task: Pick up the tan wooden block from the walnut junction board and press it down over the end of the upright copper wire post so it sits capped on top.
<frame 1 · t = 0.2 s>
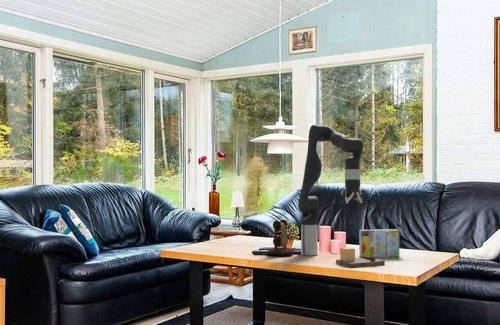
hand: (352, 211, 275), 28 cm above the table, tool pointing down, fingers open, 8 cm apart
junction board: (360, 264, 281), on the table
brown upright piece: (280, 255, 313), on the table
snack box: (379, 257, 306), on the table
tan wooden block: (347, 260, 282), point 2 cm above the table, touching junction board
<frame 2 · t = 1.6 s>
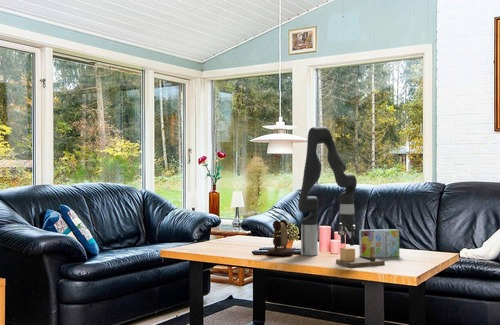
hand: (347, 244, 282), 10 cm above the table, tool pointing down, fingers open, 8 cm apart
nothing on the table moved.
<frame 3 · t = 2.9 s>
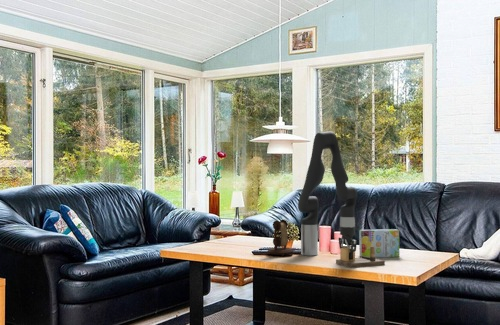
hand: (347, 258, 282), 3 cm above the table, tool pointing down, fingers closed on tan wooden block, 5 cm apart
tan wooden block: (347, 260, 282), point 2 cm above the table, touching gripper, junction board
everything else where it was.
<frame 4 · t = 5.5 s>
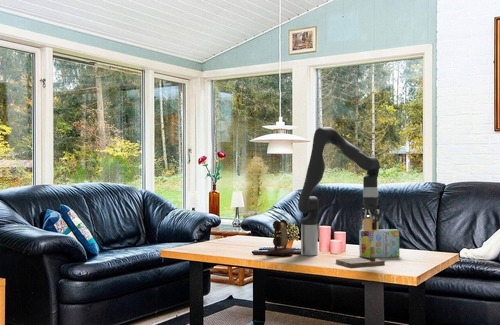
hand: (371, 229, 281), 18 cm above the table, tool pointing down, fingers closed on tan wooden block, 5 cm apart
tan wooden block: (370, 230, 281), point 17 cm above the table, touching gripper
everything else where it was.
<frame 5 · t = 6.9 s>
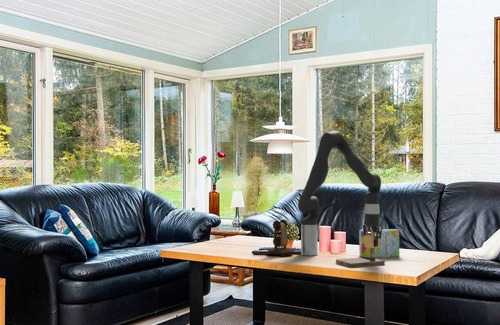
hand: (372, 245, 281), 9 cm above the table, tool pointing down, fingers closed on tan wooden block, 5 cm apart
tan wooden block: (372, 247, 281), point 9 cm above the table, touching gripper
everything else where it was.
when the fingers open (5 cm above the table, at t = 8.2 s): tan wooden block stays where it is, resting on junction board.
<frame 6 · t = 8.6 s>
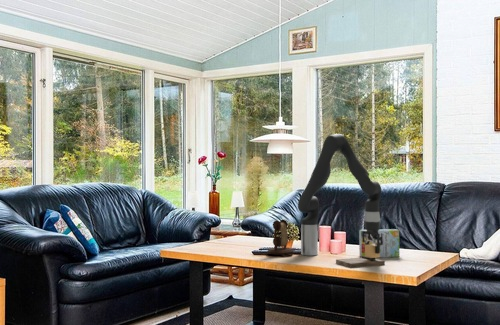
hand: (372, 252, 281), 6 cm above the table, tool pointing down, fingers open, 8 cm apart
tan wooden block: (372, 256, 281), point 4 cm above the table, touching junction board
everything else where it was.
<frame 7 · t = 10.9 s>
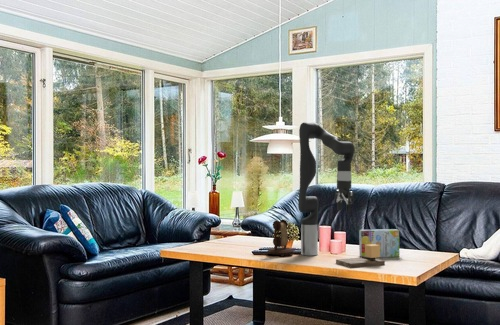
hand: (343, 210, 288), 27 cm above the table, tool pointing down, fingers open, 8 cm apart
nothing on the table moved.
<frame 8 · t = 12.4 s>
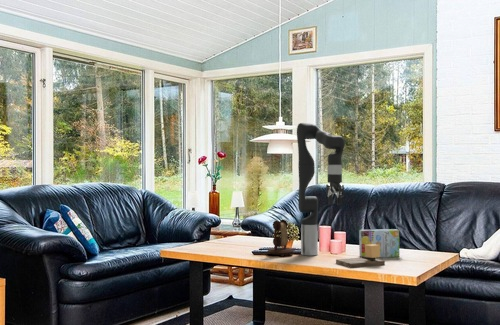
hand: (334, 204, 289), 30 cm above the table, tool pointing down, fingers open, 8 cm apart
nothing on the table moved.
at the end: tan wooden block 0.2 cm from the target spot on the junction board, point 3.8 cm above the junction board's base; tan wooden block tilted 2°; the gripper is holding nothing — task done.
